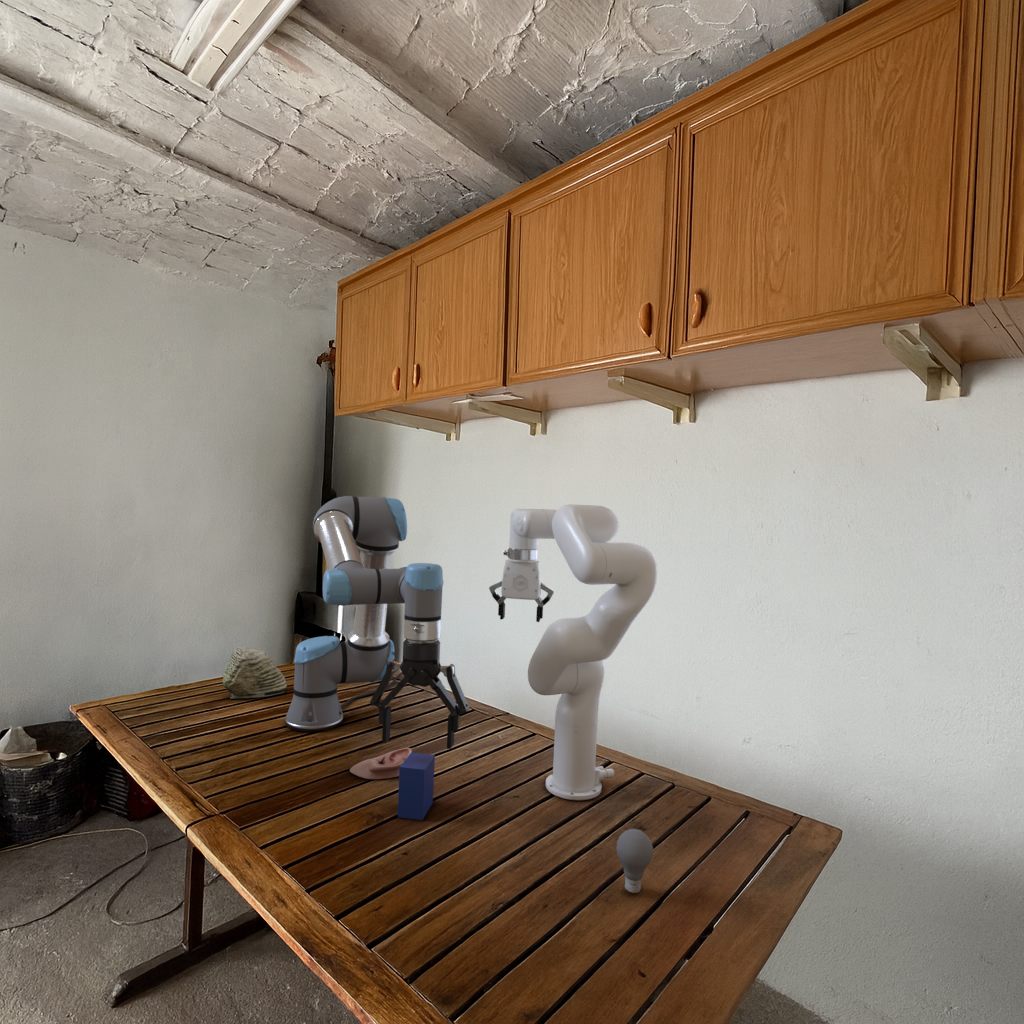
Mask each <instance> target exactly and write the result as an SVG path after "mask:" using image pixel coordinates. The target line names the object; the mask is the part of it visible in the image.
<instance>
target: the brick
mask: <svg viewBox="0 0 1024 1024" xmlns="http://www.w3.org/2000/svg"><path fill="white" fill-rule="evenodd" d="M435 759H436V755H435V754H429V753H420V752H411V753H410V755H409V756H408V757H407V758H406V760H405V761H404V762H403V763H402V765H401V766H400V769H399V776H398V791H397V793H398V795H397V796H398V797H397V815H396V816H397V818H400V819H408V820H409V819H410V820H417V821H423V820H424V818H425V817H426V815H427V813H428V811H429V810H430V808H431V807H432V805H433V803H434V786H435V783H434V782H435Z"/></svg>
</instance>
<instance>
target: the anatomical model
mask: <svg viewBox="0 0 1024 1024" xmlns="http://www.w3.org/2000/svg"><path fill="white" fill-rule="evenodd" d="M412 751H413V750H412V749H411V748H410V747H403V748H402V747H401V748H398V749H396V750H395V749H394V750H391V751H389V752H386V753H383V754H381V755H379V756H375V757H371V758H368V759H364V760H362V761H360V762H358V763H356V764H354V765H353V766H352V767H351V768H350V769H349V773H351V774H353V775H354V776H357V777H359V778H362V779H366V780H382V779H383V780H384V779H392V778H396V777H399V769H400V766H401V765H402V763H403V762H404V761H405V760H406V758H407V757H408V756H409V755H410V753H411V752H412ZM412 753H413V752H412Z"/></svg>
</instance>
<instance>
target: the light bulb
mask: <svg viewBox="0 0 1024 1024" xmlns="http://www.w3.org/2000/svg"><path fill="white" fill-rule="evenodd" d="M615 849H616V854H617V857H618V859H619V861H620V863H621V865H622V867H623V873H624V874H623V875H624V876H625V878H624V888H625V890H627V891H628V892H630V893H634V894H635V893H639V892H640V891H641V889H642V887H641V886H642V879H643V877H644V875H645V871H646V868H647V867H648V866H649V864H650V863H651V861H652V859H653V855H654V847H653V843H652V841H651V838H649V836H648V835H647V834H646V833H645V832H643V831H642V830H641V829H636V828H629V829H627V830H625V831H623V832H622V833H621V834H620V835H619V837H618V839H617V841H616V847H615Z"/></svg>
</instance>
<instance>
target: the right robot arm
mask: <svg viewBox="0 0 1024 1024" xmlns="http://www.w3.org/2000/svg"><path fill="white" fill-rule="evenodd" d="M509 520H510V521H509V541H508V543H509V544H508V549H504V550H503V556H506V557H507V558H508V559H506V560H505V561H504V566H503V571H502V578H501V579H502V580H501V581H499V582H497V583H493V584H492V585H489V587H488V589H489V592H490V593H491V596H492V598H493V600H494V601H496V602H497V604H498V607H497V608H498V609H497V611H498V613H497V615H498V617H499V620H504V619H505V617H506V603H505V601H506V599H511V600H512V599H513V600H527V601H535V602H536V604H537V606H536V618H535V619H536V620H535V621H536V622H535V623H540V621H541V619H543V618H544V606H545V605H547V604H548V602H550V600H551V599H552V598H553V595H554V594H555V590H554V589H553V588H551V587H549V586H547V585H546V584H545V583H542V573H541V563H540V561H539V560H538V550H539V549H538V546H539V540H540V539H542V540H545V539H546V540H551V539H552V540H555V543H556V544H557V546H558V548H559V550H560V552H561V554H562V556H563V557H564V559H565V561H566V563H567V566H568V568H569V569H570V571H571V573H572V575H573V576H574V577H575V579H576V580H578V581H579V582H580V583H581V584H585V585H590V586H591V585H592V586H597V585H598V586H599V585H613V586H612V587H610V588H609V589H608V590H606V591H605V592H604V593H602V595H601V596H599V598H597V600H596V602H595V603H594V605H593V606H592V608H591V610H590V611H589V612H588V613H587V614H586V615H584V616H579V617H565V618H559V619H557V620H554V621H553V622H552V623H550V624H549V625H548V627H547V628H546V629H545V630H544V633H543V634H542V637H541V639H540V640H539V642H538V644H537V646H536V648H535V649H534V652H533V653H532V655H531V657H530V660H529V663H528V667H527V681H528V684H529V687H530V688H531V690H533V692H535V693H536V694H537V695H541V696H557V695H560V697H559V699H558V700H557V701H558V702H557V704H556V707H555V719H554V736H553V738H554V740H553V758H552V759H553V761H552V763H553V764H552V773H551V774H549V775H548V776H547V777H546V779H545V789H546V790H547V791H548V792H549V793H550V794H552V795H554V796H555V797H558V798H561V799H565V800H569V801H570V800H571V801H586V800H592V799H594V798H597V797H598V796H599V795H601V793H602V789H603V788H602V787H603V786H602V783H601V781H603V779H611V778H615V770H614V769H613V768H604V766H603V765H600V766H599V765H598V766H596V761H597V742H598V722H599V709H600V708H599V707H600V697H601V692H602V688H603V684H604V680H605V674H606V668H605V667H606V666H605V662H604V660H607V659H608V658H610V657H611V656H612V654H613V653H614V652H615V650H616V649H617V647H618V646H619V644H620V643H621V641H622V640H623V638H624V637H625V635H626V634H627V632H628V630H629V629H630V627H631V625H632V624H633V622H634V621H635V620H636V618H638V616H639V614H640V613H641V612H642V611H643V610H644V609H645V607H646V606H647V604H649V601H650V600H651V598H652V596H653V594H654V592H655V589H656V586H657V581H658V564H657V559H656V557H655V555H654V553H653V552H652V551H651V550H650V548H649V549H648V548H647V547H646V546H644V545H641V544H638V543H634V542H610V541H611V540H613V539H614V538H615V537H616V536H617V534H618V533H619V529H620V522H619V518H618V516H617V514H616V513H615V512H614V511H613V510H611V509H610V508H608V507H606V506H603V505H595V504H594V505H589V504H565V505H562V506H560V507H559V508H557V509H553V508H552V509H547V508H515V509H513V510H512V511H511V513H510V519H509ZM499 588H501V596H500V595H499V593H498V592H497V589H499ZM542 591H544V592H546V596H545V597H544V598H543V599H542V597H541V595H542V594H541V593H542Z"/></svg>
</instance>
